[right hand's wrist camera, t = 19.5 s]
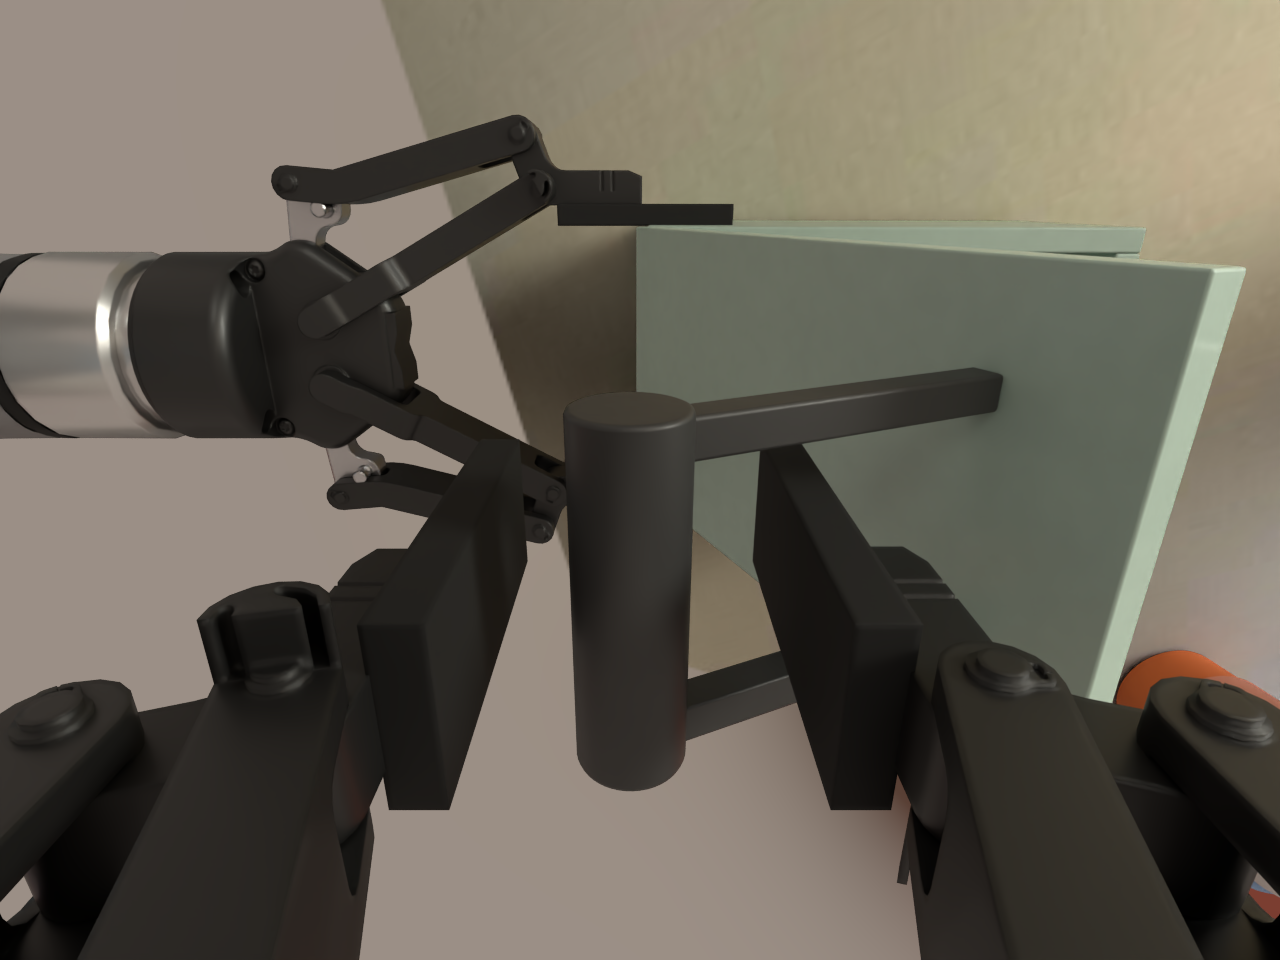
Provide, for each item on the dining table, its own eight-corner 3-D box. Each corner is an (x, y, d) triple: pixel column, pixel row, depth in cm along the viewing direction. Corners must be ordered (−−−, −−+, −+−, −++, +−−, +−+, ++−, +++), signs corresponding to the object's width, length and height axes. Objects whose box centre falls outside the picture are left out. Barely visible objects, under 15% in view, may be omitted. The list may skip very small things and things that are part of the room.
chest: (1018, 220, 33) (1147, 227, 24) (981, 415, 37) (1082, 484, 28) (651, 219, 34) (646, 226, 25) (650, 412, 37) (645, 478, 28)
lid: (1249, 265, 9) (679, 301, 6) (1081, 806, 13) (663, 1023, 10) (656, 226, 25) (397, 230, 21) (654, 480, 28) (432, 519, 25)
